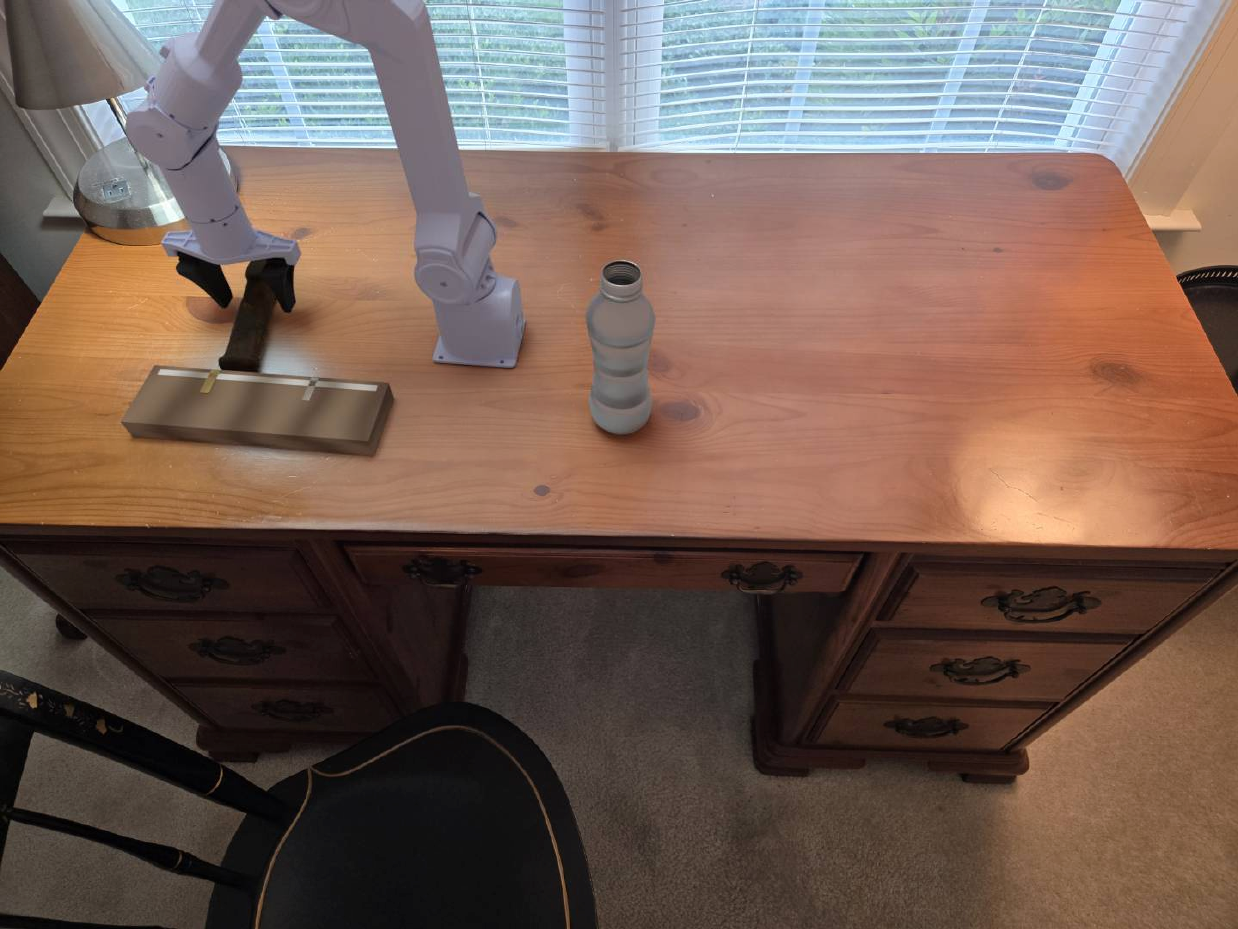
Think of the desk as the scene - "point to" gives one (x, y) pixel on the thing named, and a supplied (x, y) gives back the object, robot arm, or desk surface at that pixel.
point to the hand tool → (249, 323)
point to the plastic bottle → (620, 349)
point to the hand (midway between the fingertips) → (258, 304)
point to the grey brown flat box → (260, 410)
